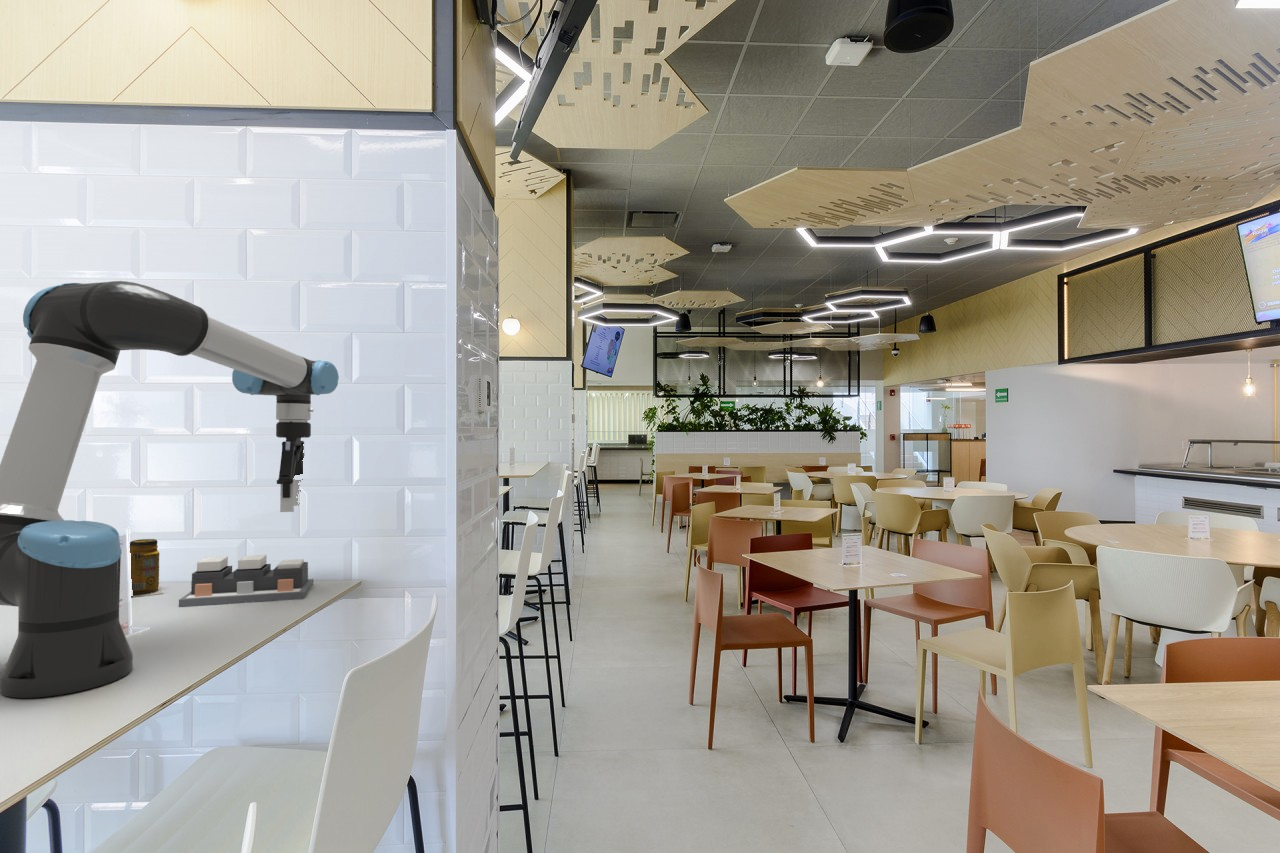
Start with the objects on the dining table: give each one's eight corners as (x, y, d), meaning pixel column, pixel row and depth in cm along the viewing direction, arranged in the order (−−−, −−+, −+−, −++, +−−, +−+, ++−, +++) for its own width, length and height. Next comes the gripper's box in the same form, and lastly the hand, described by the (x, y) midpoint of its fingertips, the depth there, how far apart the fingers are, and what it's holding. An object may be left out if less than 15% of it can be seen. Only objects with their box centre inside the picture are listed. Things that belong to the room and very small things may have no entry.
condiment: (160, 587, 160) (160, 537, 160) (163, 594, 154) (163, 541, 154) (121, 591, 156) (122, 540, 156) (122, 599, 149) (123, 545, 149)
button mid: (237, 569, 151) (238, 560, 151) (244, 564, 156) (244, 555, 156) (260, 568, 152) (260, 559, 152) (266, 563, 158) (266, 554, 158)
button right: (277, 573, 153) (277, 564, 153) (282, 568, 159) (283, 559, 159) (299, 572, 154) (299, 563, 154) (303, 567, 160) (303, 559, 160)
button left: (196, 571, 148) (197, 562, 148) (205, 566, 154) (205, 557, 154) (220, 570, 150) (220, 561, 150) (227, 565, 155) (227, 556, 155)
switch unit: (178, 606, 142) (179, 578, 142) (199, 591, 156) (200, 565, 156) (303, 598, 150) (303, 571, 150) (313, 585, 163) (313, 560, 163)
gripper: (301, 420, 152) (300, 514, 152) (318, 422, 176) (317, 502, 176) (264, 420, 150) (263, 515, 150) (287, 421, 174) (286, 503, 174)
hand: (292, 508), depth 163 cm, fingers open, 13 cm apart
